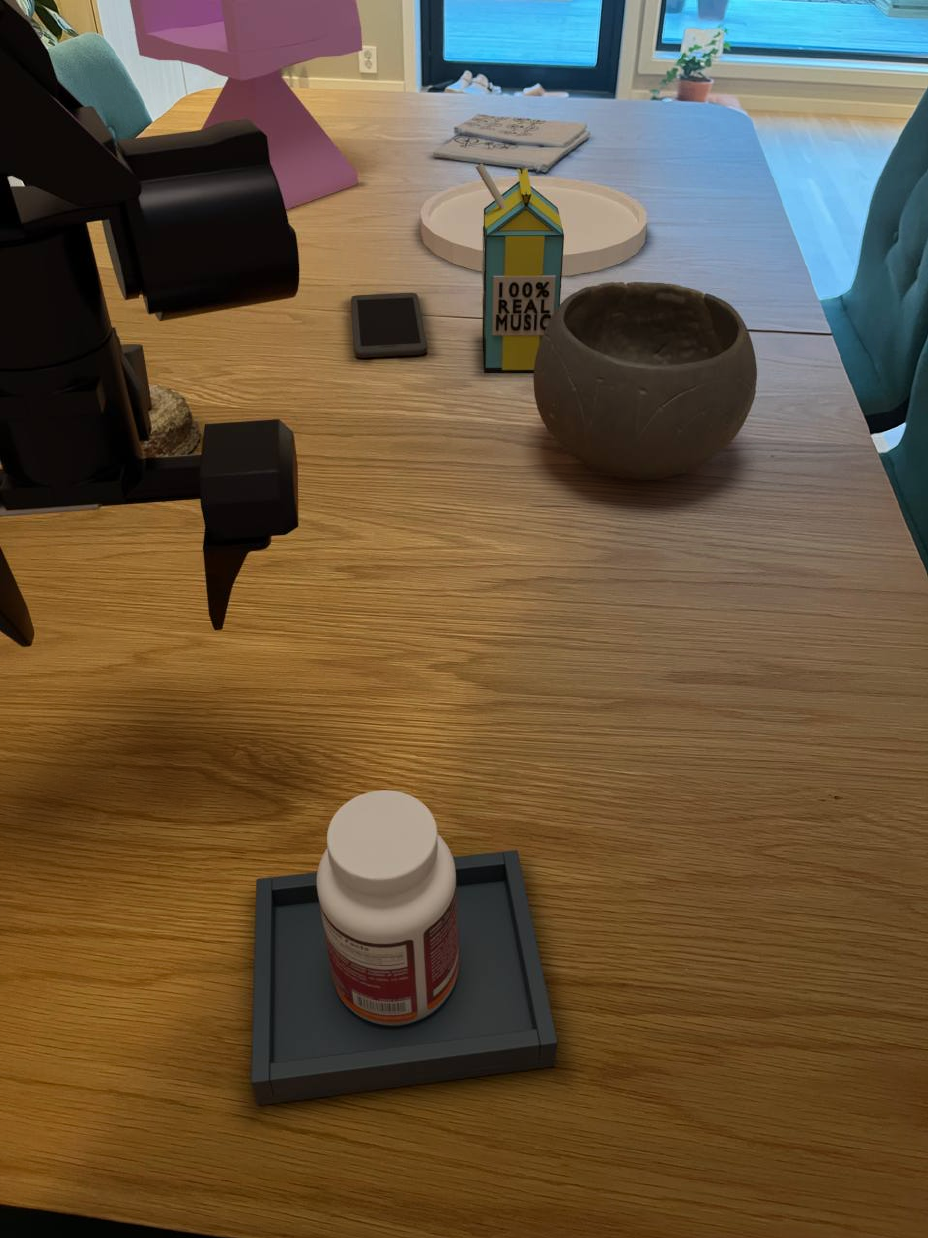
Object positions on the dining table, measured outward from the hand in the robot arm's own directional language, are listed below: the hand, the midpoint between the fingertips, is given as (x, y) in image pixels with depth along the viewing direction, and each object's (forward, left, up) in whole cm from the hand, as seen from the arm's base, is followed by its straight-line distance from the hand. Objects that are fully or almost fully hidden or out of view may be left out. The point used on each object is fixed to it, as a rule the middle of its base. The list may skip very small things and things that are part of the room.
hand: (125, 632), depth 50 cm
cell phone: (+17, +61, -13) cm, 65 cm away
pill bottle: (+12, -13, -12) cm, 21 cm away
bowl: (+36, +33, -13) cm, 51 cm away
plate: (+37, +86, -13) cm, 95 cm away
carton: (+29, +53, -13) cm, 62 cm away
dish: (+12, -13, -13) cm, 22 cm away
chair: (+4, +108, -13) cm, 109 cm away
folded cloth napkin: (+40, +121, -13) cm, 128 cm away
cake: (-6, +41, -13) cm, 44 cm away
